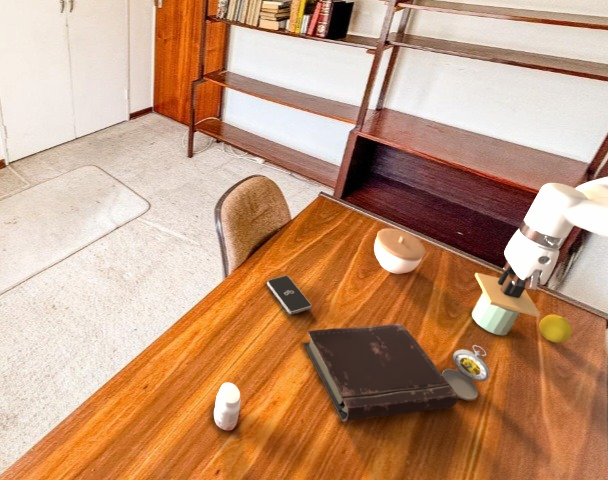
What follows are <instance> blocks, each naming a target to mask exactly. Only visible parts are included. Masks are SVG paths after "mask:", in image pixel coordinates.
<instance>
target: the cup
mask: <svg viewBox="0 0 608 480" xmlns="http://www.w3.org/2000/svg"><path fill="white" fill-rule="evenodd" d="M521 314H522V313H521V312H517V311H513V310H509V309H505V308H502V307H498V306H494V305H490V304H489V302H488V300H487V298H486V296H485V294H484V292H483V291H482V293H481V294H480V295H479V298H478V300H477V301H476V303H475V305H474V306H473V309H472V312H471V317H472V319H473V321H474V322H475V323H476V324H477V325H478V326H480V327H481V328H482V329H483V330H485V331H487V332H489V333H491V334H493V335H497V336H506V335H508V333H509V332H510V331H511V330H512V328H513V326H514V325H515V323H516V321H518V319H519V317H520V315H521Z"/></svg>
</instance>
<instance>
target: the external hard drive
mask: <svg viewBox="0 0 608 480" xmlns="http://www.w3.org/2000/svg"><path fill="white" fill-rule="evenodd" d="M266 287H267V288H268V289H269V290H270V292H271V293H272V295H273V296H274V297H275V299H276V300H277V301H278V303H279V304H280V305H281V307H282V308H283V309H284V311H285V312H286V314H287V315H288V316H289V317H290V316H295V315H298V314H301V313H305V312H308V311H310V310H311V308H312V303H311V302H310V301H309V299H308V298H307V297H306V296H305V295H304V293H303V292H302V291H301V289H300V288H299V287H298V286H297V285H296V284H295V282H294V281H293V279H292V278H291V277H290V276H289V275H282V276H278V277H275V278H270V279H268V280H267V282H266Z"/></svg>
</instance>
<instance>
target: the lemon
mask: <svg viewBox="0 0 608 480" xmlns="http://www.w3.org/2000/svg"><path fill="white" fill-rule="evenodd" d="M538 330H539V333H540V334H541V335H542V337H544V338H545V340H546V341H549V342H552V343H555V344H562V343H563V344H564V343H565V342H567V341H568V340H569V339H570V338H571V337H572V334H573V328H572V325H571V323H570V322H569V321H568V320H567V319H566V318H565V317H563V316H561V315H558V314H547V315H546V316H544V317H543V318H542V319H540V321H539V323H538Z"/></svg>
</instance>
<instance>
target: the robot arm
mask: <svg viewBox="0 0 608 480" xmlns="http://www.w3.org/2000/svg"><path fill="white" fill-rule="evenodd" d="M574 227H577V228H580V229H583V230H585V231H588V232H590V233H592V234H595V235H598V236H600V237H604V238H607V239H608V176H605V177H602V178H597V179H594V180H590V181H587V182H585V183H582V184H580V185H578V186H577V187H573V186H570V185H566V184H563V183H559V182H548V183H545V184H544V185H543V186H542V187H541V188H540V189H539V191H538V192H537V195H536V197H535V199H534V200H533V202H532V204H531V206H530V208H529V209H528V211H527V213H526V215H525V217H524V219H523V220H522V222H521V224H520V226H519V227H518V229H517V230H516V231H515V232H514V234H513V235H512V237H511V238H510V240H509V241H508V243H507V244H506V247H505V249H504V252H503V253H504V257H505V265H504V266H503V272H502V273H501V275H500V277H499V278H500V279H499V280H498V284H499V285H503V283H504V282H505V280H506V278H507V276H508V275H509V274H514V275H515V277H514V278H513V280H512V282H510V281H509V283H508V285H507V287H506V288H505V290H504V292H503V293H504V294H505V295H508V296H511V297H515V298H520V296H521V295H522V293H523V291H524V290H526V289H527V290H528V291H529V290H530V291H534V292H537V288H538V284H539V285H541V286H543V285H546V283H547V282H548V280H549V279H550V277H551V275H552V273H553V271H554V268H555V266H556V264H557V262H558V259H559V255H560V249H561V247H562V245H563V244H564V242H565V241H566V239H567V237H568V236H569V234H570V233H571V231H572V230H573V228H574ZM520 279H521V280H522V281H519V280H520Z"/></svg>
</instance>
